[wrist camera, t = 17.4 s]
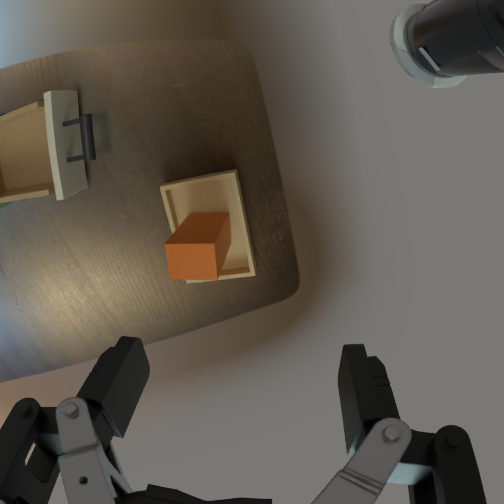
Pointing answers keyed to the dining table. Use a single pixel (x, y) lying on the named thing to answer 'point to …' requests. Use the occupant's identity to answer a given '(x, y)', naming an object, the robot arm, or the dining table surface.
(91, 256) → the dining table surface
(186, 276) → the block
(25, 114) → the drawer
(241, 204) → the tray
